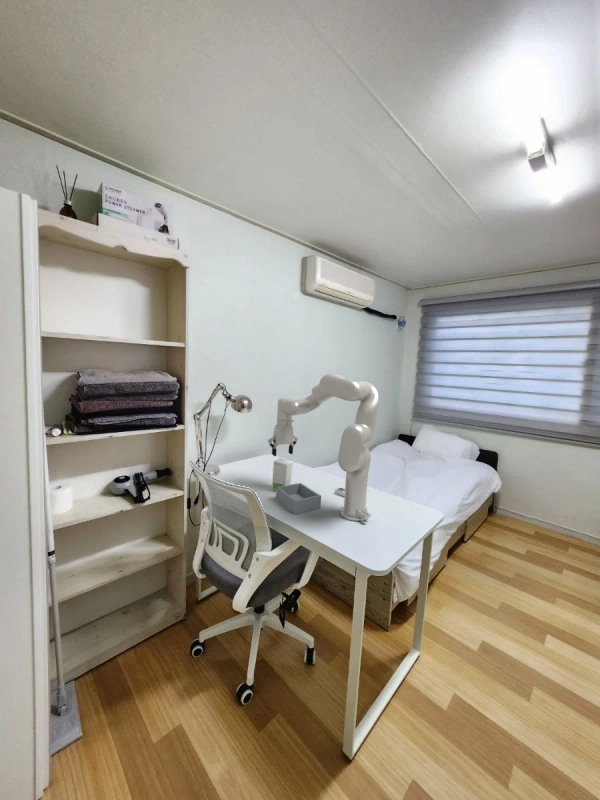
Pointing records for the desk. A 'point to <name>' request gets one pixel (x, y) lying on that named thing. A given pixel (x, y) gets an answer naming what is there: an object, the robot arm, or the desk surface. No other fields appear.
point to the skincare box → (281, 473)
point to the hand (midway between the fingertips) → (282, 454)
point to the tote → (298, 498)
